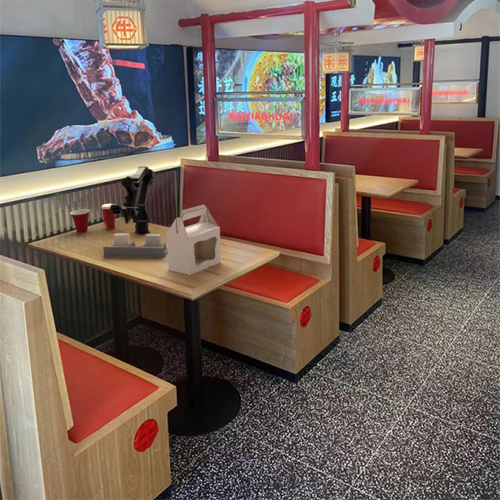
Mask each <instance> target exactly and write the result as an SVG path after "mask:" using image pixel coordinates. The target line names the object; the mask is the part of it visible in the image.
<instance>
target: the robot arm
mask: <svg viewBox="0 0 500 500" xmlns="http://www.w3.org/2000/svg"><path fill="white" fill-rule="evenodd" d="M155 179H156V174H155V172H154V170H153V169H151V168H149V167H148V166H145V165H141V166H138V167H137V170H136V171H135V173H134V174H133V175H130V176H129V175H127V176H126V177H125V178H123V179H122V181H121V185H122V188H123V190H124V191H125V192H126V194H125V196H124V202H123V205H122V206H120V204H117V203H111V204H112V205H111V206H110V210H111V211H112V213H113V214H115V215H119V214H122V215H123V218H124V223H125V225H127V224H129V223H130V221H131V219H132V223H133V224H134V223H135V225H134V233H136V234H138V235H144V234H145V235H146V234H151V231H149V223H151V216H150V215H149V209H148V207H147V205H148V204H147V203H148V197H149V191H150V187H151V186H152V184H153V183H154V180H155ZM138 189H140V190H138ZM137 200H138V201H137Z"/></svg>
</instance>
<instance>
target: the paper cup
mask: <svg viewBox="0 0 500 500" xmlns="http://www.w3.org/2000/svg"><path fill="white" fill-rule="evenodd" d="M112 204H113V203H105V204H102V205H101V209H102V211H101V212H102V217H103V223H104V229H105V230H106V231H112V230H116V214H113V213H112V211H111V210H110V206H111V205H112Z"/></svg>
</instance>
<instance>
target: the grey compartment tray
mask: <svg viewBox="0 0 500 500" xmlns="http://www.w3.org/2000/svg"><path fill="white" fill-rule="evenodd" d="M102 250H103V251H102V252H103V258H130V259H131V258H134V259H135V258H137V259H143V258H144V259H164V258H165V257H166V256H168V251H167V242H163V243H161V247H146V242H145V243H144V244H143V245H141V246H140V245H137V246H136V241H132V242H130V245H129V246H115V245H114V242H113V243H112V244H111V245H103V246H102Z"/></svg>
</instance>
